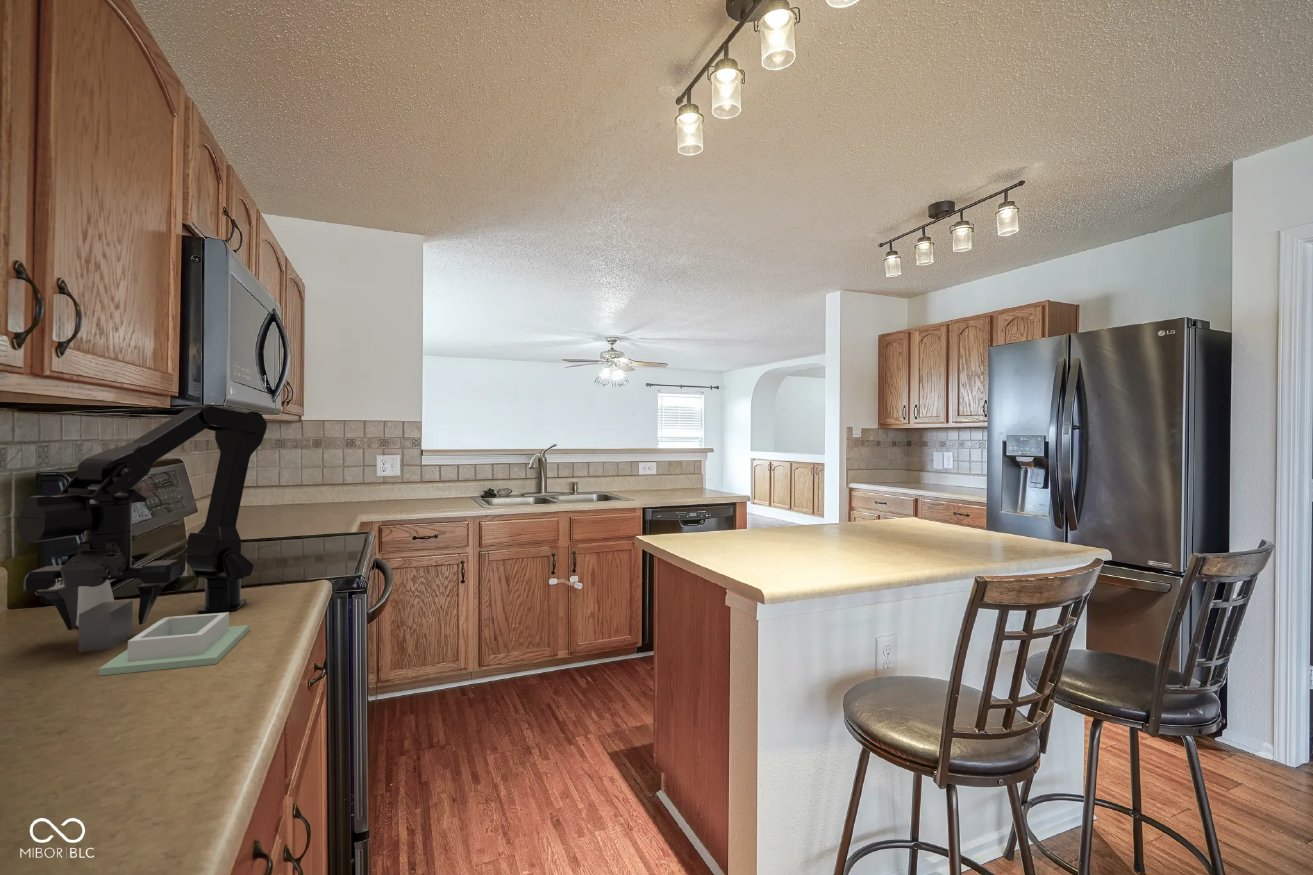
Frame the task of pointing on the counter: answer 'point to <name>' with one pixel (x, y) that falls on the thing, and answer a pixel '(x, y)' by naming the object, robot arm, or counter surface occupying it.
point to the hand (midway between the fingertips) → (107, 626)
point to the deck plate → (178, 644)
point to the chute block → (105, 625)
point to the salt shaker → (93, 597)
